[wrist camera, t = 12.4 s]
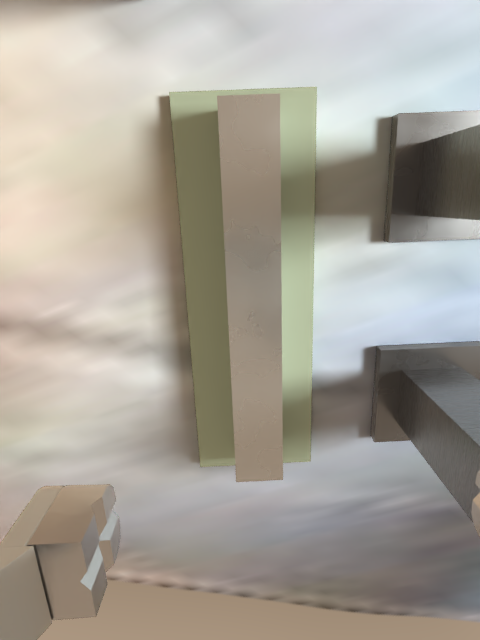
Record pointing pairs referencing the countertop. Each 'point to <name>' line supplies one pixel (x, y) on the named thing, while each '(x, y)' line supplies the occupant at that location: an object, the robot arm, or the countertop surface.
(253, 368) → the rail
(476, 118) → the posts
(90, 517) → the robot arm
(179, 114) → the mat
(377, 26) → the countertop surface
